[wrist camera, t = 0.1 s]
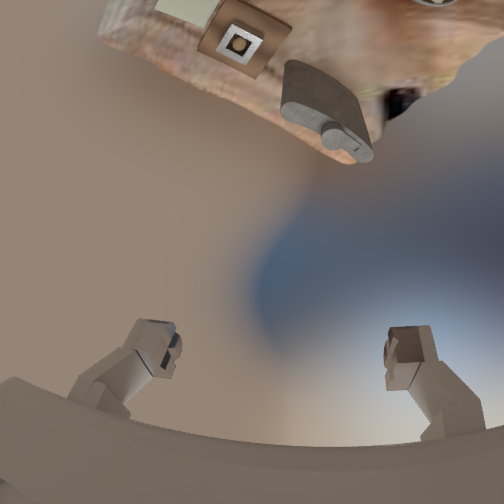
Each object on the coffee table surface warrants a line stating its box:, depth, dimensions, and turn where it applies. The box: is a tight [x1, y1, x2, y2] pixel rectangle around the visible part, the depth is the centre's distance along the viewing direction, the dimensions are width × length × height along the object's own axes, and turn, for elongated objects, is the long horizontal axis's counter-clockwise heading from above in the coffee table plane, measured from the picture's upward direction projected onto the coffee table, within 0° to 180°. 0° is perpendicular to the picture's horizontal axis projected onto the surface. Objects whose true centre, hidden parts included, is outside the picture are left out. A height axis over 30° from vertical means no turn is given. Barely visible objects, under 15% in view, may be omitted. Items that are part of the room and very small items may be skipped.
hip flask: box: [280, 60, 374, 163], centre depth 45 cm, size 16×4×20 cm, turn 63°
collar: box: [216, 19, 265, 66], centre depth 43 cm, size 6×6×4 cm
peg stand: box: [196, 0, 292, 79], centre depth 43 cm, size 12×12×6 cm
